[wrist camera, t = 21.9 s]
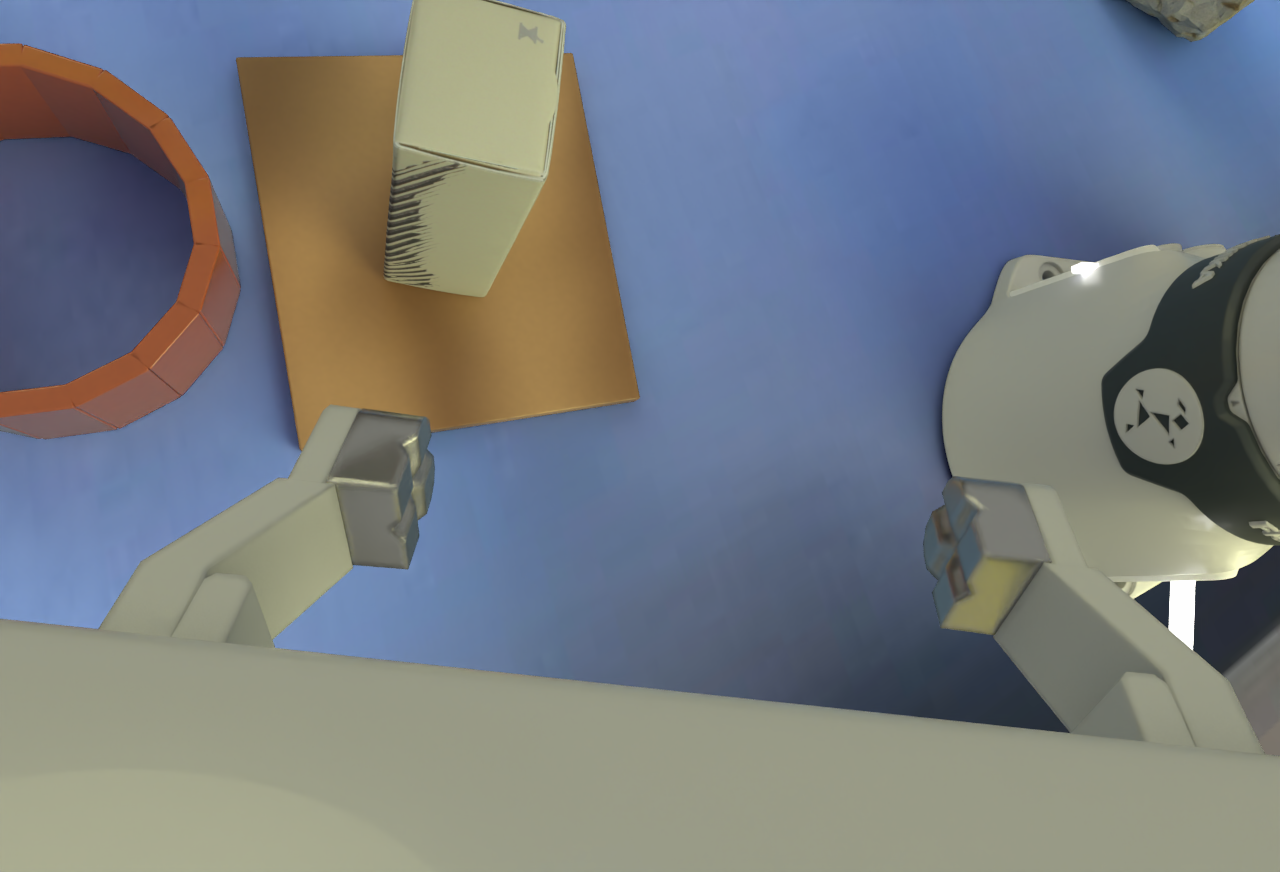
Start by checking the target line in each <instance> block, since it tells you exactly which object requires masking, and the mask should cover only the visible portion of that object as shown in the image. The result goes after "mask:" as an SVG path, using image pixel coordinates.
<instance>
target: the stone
mask: <svg viewBox="0 0 1280 872" xmlns="http://www.w3.org/2000/svg"><path fill="white" fill-rule="evenodd" d="M1126 1H1128V2H1130V3H1131V4H1132V6H1134V7H1136V8H1138V9H1140V10H1142V11H1144V12H1146V13H1147V14H1148V15H1151V16H1154V17H1157V18H1158V19H1159V21H1160V22H1161V23H1162V24H1163V25H1164V26H1165V27H1166V28H1167V29H1168V30H1169V31H1171V32H1172V33H1173V34H1174V35H1175V36H1177V37H1184V38H1185V39H1187V40H1189V41H1190V42H1192V41H1197V40H1201V39H1202V38H1204V37H1206V36H1208V35H1209V34H1210V33H1211V32H1212V31H1214V30H1215V29H1216V28H1217V27H1219V26H1220V25H1222V24H1223V23H1225V22H1226V21H1228V20H1229V19H1230V18H1232V17H1233V16H1234V15H1235V14H1237V13H1238V12H1239V11H1240V10H1242V9H1243V8H1244V7H1246V6H1247V5H1249V4H1250V3H1252V2H1253V1H1254V0H1126Z"/></svg>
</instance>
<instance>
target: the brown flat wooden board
mask: <svg viewBox="0 0 1280 872" xmlns="http://www.w3.org/2000/svg"><path fill="white" fill-rule="evenodd" d="M402 59H403V55H392V56H314V57H238V58H236V63H237V69H238V75H239V81H240V87H241V93H242V100H243V106H244V112H245V118H246V124H247V130H248V136H249V142H250V149H251V155H252V161H253V167H254V173H255V179H256V185H257V191H258V197H259V204H260V210H261V216H262V222H263V228H264V234H265V240H266V246H267V253H268V259H269V265H270V271H271V277H272V283H273V289H274V295H275V302H276V308H277V314H278V320H279V326H280V332H281V338H282V344H283V350H284V357H285V363H286V369H287V375H288V381H289V387H290V393H291V399H292V406H293V412H294V418H295V424H296V430H297V436H298V442H299V448H300V450H301V452H302V450H303V448H304V446H305V444H306V442H307V440H308V438H309V437H310V435H311V433H312V431H313V429H314V427H315V425H316V423H317V421H318V419H319V417H320V415H321V413H322V411H323V410H324V409H325V408H327V407H328V406H329V405H330V404H332V405H339V406H345V407H352V408H359V409H363V408H365V409H373V410H380V411H387V412H395V413H402V414H409V415H417V416H424V417H427V418H428V419H429V421H430V428H431V433H433V432H440V431H446V430H453V429H459V428H466V427H472V426H479V425H485V424H492V423H498V422H505V421H511V420H518V419H524V418H531V417H537V416H544V415H550V414H557V413H563V412H570V411H576V410H583V409H589V408H596V407H602V406H609V405H615V404H622V403H628V402H634V401H636V400H638V399H639V398H640V396H639V391H638V386H637V381H636V376H635V371H634V365H633V360H632V355H631V350H630V345H629V340H628V335H627V330H626V324H625V319H624V314H623V309H622V304H621V299H620V294H619V289H618V284H617V278H616V273H615V268H614V263H613V258H612V253H611V248H610V243H609V237H608V232H607V227H606V222H605V217H604V212H603V207H602V202H601V196H600V191H599V186H598V181H597V176H596V171H595V166H594V161H593V155H592V150H591V145H590V140H589V135H588V130H587V125H586V120H585V114H584V109H583V104H582V99H581V94H580V89H579V84H578V79H577V73H576V68H575V63H574V58H573V54H572V53H563V64H562V73H561V83H560V93H559V103H558V111H557V118H556V126H555V133H554V141H553V148H552V155H551V161H550V167H549V173H548V176H547V179H546V181H545V183H544V185H543V187H542V189H541V191H540V194H539V196H538V198H537V199H536V201H535V203H534V205H533V207H532V209H531V211H530V213H529V215H528V217H527V218H526V220H525V222H524V224H523V226H522V228H521V230H520V232H519V234H518V236H517V238H516V240H515V242H514V244H513V246H512V248H511V249H510V251H509V253H508V255H507V257H506V259H505V261H504V263H503V264H502V266H501V268H500V270H499V272H498V274H497V276H496V278H495V280H494V282H493V284H492V286H491V288H490V290H489V291H488V293H487V295H486V296H485V297H474V296H467V295H460V294H453V293H447V292H441V291H436V290H430V289H425V288H420V287H415V286H410V285H406V284H401V283H396V282H391V281H387V280H385V279H384V259H385V247H386V232H387V221H388V212H389V198H390V189H391V180H392V164H393V135H394V125H395V114H396V105H397V96H398V88H399V81H400V74H401V66H402Z"/></svg>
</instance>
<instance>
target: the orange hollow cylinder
mask: <svg viewBox="0 0 1280 872" xmlns="http://www.w3.org/2000/svg"><path fill="white" fill-rule="evenodd" d="M52 137H75V138H78V139H81V140H85V141H88V142H92V143H95V144H99V145H102V146H106V147H109V148H112V149H116V150H119V151H123V152H126V153H130V154H132V155H133V156H134V157H136V158H137V159H139V160H140V161H141V162H143V163H144V164H146V165H147V166H148V167H150V168H151V169H153V170H154V171H156V172H157V173H158V174H160V175H161V176H163V177H164V178H165V179H167V180H168V181H170V182H171V183H172V184H174V185H175V186H177V187H178V188H179V189H180V190H181V191H182V193H183V194H184V196H185V197H186V199H187V203H188V210H189V216H190V223H191V229H192V235H193V242H194V245H193V248H192V252H191V255H190V258H189V261H188V265H187V268H186V271H185V274H184V278H183V281H182V284H181V287H180V291H179V294H178V297H177V300H176V303H175V304H174V305H173V306H172V307H171V308H170V309H169V310H168V311H167V313H166V314H165V315H164V316H163V317H162V318H161V319H160V320H159V322H158V323H157V324H156V325H155V326H154V327H153V328H152V329H151V330H150V332H149V333H148V334H147V335H146V336H145V337H144V338H143V339H142V340H141V342H140V343H139V344H138V345H137V346H136V347H135V348H134V349H133V351H132V352H130V353H128V354H126V355H124V356H122V357H120V358H118V359H116V360H114V361H112V362H110V363H108V364H106V365H104V366H102V367H100V368H98V369H96V370H94V371H92V372H90V373H88V374H85V375H83V376H81V377H79V378H77V379H75V380H73V381H71V382H69V383H67V384H64V385H56V386H47V387H39V388H31V389H22V390H14V391H5V392H0V431H1V432H6V433H11V434H16V435H21V436H26V437H31V438H36V439H52V438H59V437H66V436H74V435H81V434H88V433H96V432H103V431H110V430H116V429H117V428H119V429H120V428H122V427H124V426H126V425H128V424H130V423H132V422H134V421H136V420H138V419H139V418H141V417H143V416H145V415H147V414H149V413H151V412H153V411H155V410H157V409H159V408H160V407H162V406H164V405H166V404H168V403H170V402H172V401H174V400H176V399H178V398H180V397H181V396H182V395H184V393H185V392H186V391H187V390H188V389H189V388H190V386H191V385H192V384H193V383H194V382H195V381H196V379H197V378H198V377H199V376H200V375H201V374H202V372H203V371H204V370H205V369H206V368H207V367H208V365H209V364H210V363H211V362H212V361H213V360H214V358H215V357H216V356H217V355H218V354H219V353H220V351H221V350H222V349H223V346H224V345H225V342H226V339H227V335H228V332H229V328H230V325H231V321H232V318H233V315H234V311H235V308H236V304H237V301H238V297H239V294H240V288H241V285H240V279H239V272H238V266H237V260H236V254H235V247H234V241H233V235H232V230H231V228H230V225H229V223H228V221H227V218H226V216H225V214H224V211H223V209H222V207H221V204H220V202H219V200H218V197H217V195H216V193H215V190H214V188H213V186H212V183H211V181H210V179H209V176H208V175H207V173H206V171H205V170H204V168H203V167H202V165H201V164H200V162H199V161H198V159H197V158H196V156H195V155H194V153H193V152H192V150H191V148H190V147H189V145H188V144H187V142H186V141H185V139H184V138H183V136H182V135H181V133H180V132H179V130H178V128H177V127H176V125H175V124H174V122H173V121H172V119H171V118H169V116H168V115H167V114H166V113H164V112H163V111H162V110H160V109H159V108H158V107H156V106H155V105H153V104H152V103H151V102H149V101H148V100H147V99H145V98H144V97H142V96H141V95H140V94H138V93H137V92H136V91H134V90H133V89H131V88H130V87H129V86H127V85H126V84H124V83H123V82H122V81H120V80H119V79H118V78H116V77H115V76H113V75H112V74H111V73H109V72H108V71H106V70H102V69H101V68H98V67H94V66H91V65H88V64H85V63H82V62H78V61H75V60H72V59H69V58H66V57H62V56H59V55H56V54H53V53H50V52H46V51H43V50H40V49H37V48H34V47H30V46H27V45H24V46H23V45H22V44H0V141H1V140H4V139H26V138H52ZM180 395H181V396H180Z"/></svg>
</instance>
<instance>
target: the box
mask: <svg viewBox="0 0 1280 872" xmlns="http://www.w3.org/2000/svg"><path fill="white" fill-rule="evenodd" d="M565 31H566V24H565V22H564V21H563V20H561V19H559V18H556V17H554V16H550V15H547V14H543V13H539V12H536V11H532V10H528V9H525V8H521V7H518V6H515V5H511V4H507V3H504V2H500V1H496V0H413V2H412V7H411V12H410V17H409V23H408V28H407V34H406V40H405V46H404V53H403V59H402V66H401V74H400V81H399V88H398V96H397V105H396V114H395V125H394V135H393V164H392V180H391V189H390V198H389V212H388V221H387V232H386V247H385V259H384V279H385V280H387V281H391V282H396V283H401V284H406V285H410V286H415V287H420V288H425V289H430V290H436V291H441V292H447V293H453V294H460V295H467V296H474V297H485V296H486V295H487V293H488V291H489V290H490V288H491V286H492V284H493V282H494V280H495V278H496V276H497V274H498V272H499V270H500V268H501V266H502V264H503V263H504V261H505V259H506V257H507V255H508V253H509V251H510V249H511V248H512V246H513V244H514V242H515V240H516V238H517V236H518V234H519V232H520V230H521V228H522V226H523V224H524V222H525V220H526V218H527V217H528V215H529V213H530V211H531V209H532V207H533V205H534V203H535V201H536V199H537V198H538V196H539V194H540V191H541V189H542V187H543V185H544V183H545V181H546V179H547V176H548V173H549V167H550V161H551V155H552V148H553V141H554V133H555V126H556V118H557V111H558V103H559V93H560V83H561V73H562V64H563V52H564V40H565Z"/></svg>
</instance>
